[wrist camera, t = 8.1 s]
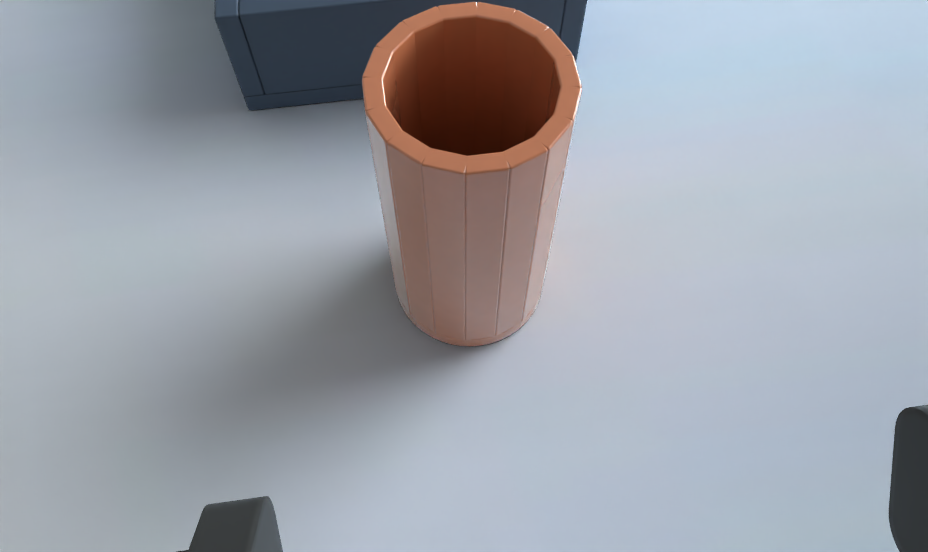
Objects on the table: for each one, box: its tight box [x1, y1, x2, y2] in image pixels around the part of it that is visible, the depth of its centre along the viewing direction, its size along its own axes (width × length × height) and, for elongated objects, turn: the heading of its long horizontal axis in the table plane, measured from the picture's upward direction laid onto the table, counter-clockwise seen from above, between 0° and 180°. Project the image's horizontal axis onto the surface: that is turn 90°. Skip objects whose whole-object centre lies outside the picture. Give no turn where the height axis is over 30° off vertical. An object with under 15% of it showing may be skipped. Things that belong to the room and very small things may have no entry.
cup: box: [362, 2, 582, 346], centre depth 23 cm, size 5×5×10 cm
